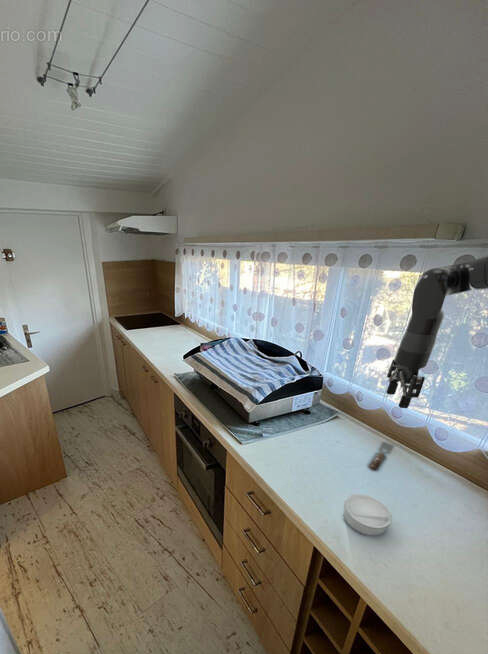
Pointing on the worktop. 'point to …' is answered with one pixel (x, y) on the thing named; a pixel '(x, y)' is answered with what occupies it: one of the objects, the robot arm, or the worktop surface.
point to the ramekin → (366, 514)
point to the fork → (377, 461)
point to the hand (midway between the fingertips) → (396, 400)
